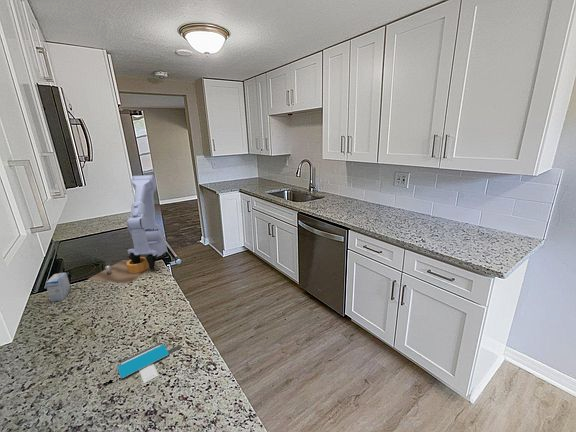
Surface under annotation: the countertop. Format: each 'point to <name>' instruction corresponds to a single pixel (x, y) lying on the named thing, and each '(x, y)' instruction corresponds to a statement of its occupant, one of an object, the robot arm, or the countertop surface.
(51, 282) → the medicine box
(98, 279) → the walnut board
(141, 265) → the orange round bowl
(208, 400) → the countertop surface
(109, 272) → the hook post
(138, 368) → the blue panel with block
